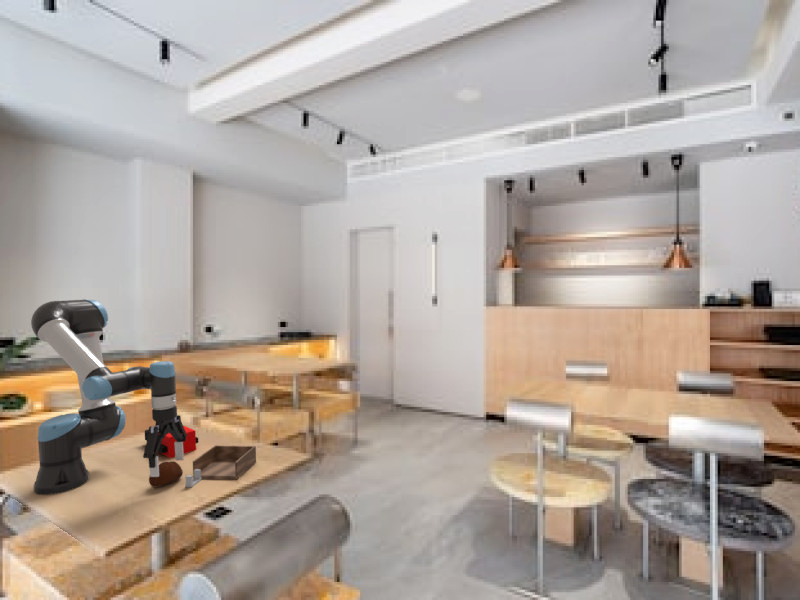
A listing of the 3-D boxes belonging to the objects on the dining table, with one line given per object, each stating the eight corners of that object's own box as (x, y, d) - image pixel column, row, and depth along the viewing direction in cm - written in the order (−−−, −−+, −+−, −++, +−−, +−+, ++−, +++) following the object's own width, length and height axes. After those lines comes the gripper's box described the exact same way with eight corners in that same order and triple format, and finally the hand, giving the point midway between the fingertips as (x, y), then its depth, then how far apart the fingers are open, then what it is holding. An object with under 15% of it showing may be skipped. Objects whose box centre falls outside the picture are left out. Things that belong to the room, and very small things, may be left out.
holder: (193, 478, 155) (192, 461, 155) (215, 461, 170) (215, 445, 170) (237, 479, 153) (236, 462, 153) (256, 462, 168) (255, 446, 168)
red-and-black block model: (174, 418, 199) (200, 429, 184) (174, 436, 200) (201, 448, 184) (139, 426, 188) (163, 439, 172) (139, 446, 188) (164, 459, 173)
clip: (185, 487, 148) (184, 476, 148) (195, 479, 154) (194, 469, 154) (191, 487, 148) (191, 476, 148) (201, 479, 154) (201, 469, 154)
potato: (189, 478, 155) (188, 456, 155) (160, 493, 144) (159, 469, 144) (174, 475, 158) (173, 453, 158) (144, 489, 147) (143, 466, 147)
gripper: (150, 417, 137) (153, 484, 138) (195, 397, 162) (198, 454, 163) (128, 417, 138) (131, 483, 139) (176, 397, 163) (179, 453, 164)
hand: (167, 467), depth 151 cm, fingers open, 13 cm apart
